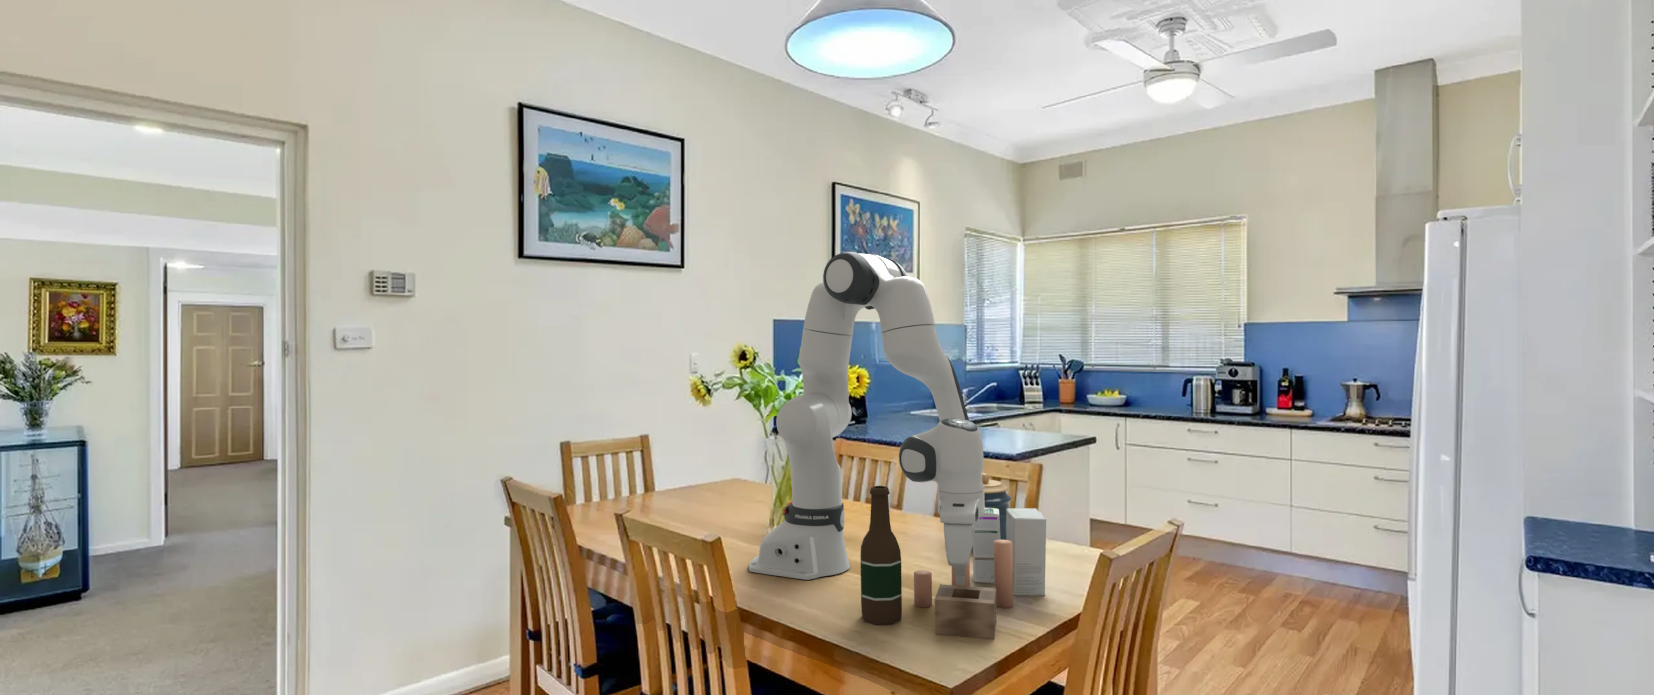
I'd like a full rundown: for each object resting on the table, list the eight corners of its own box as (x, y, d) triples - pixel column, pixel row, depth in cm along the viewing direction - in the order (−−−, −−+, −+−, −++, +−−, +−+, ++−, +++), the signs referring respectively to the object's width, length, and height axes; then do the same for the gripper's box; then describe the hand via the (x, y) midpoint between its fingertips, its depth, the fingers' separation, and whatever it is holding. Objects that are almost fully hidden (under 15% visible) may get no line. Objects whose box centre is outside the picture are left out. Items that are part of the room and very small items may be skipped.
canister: (978, 535, 195) (978, 466, 195) (1022, 545, 186) (1021, 472, 185) (946, 545, 186) (946, 473, 186) (991, 556, 177) (990, 480, 176)
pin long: (994, 607, 144) (993, 543, 143) (995, 601, 147) (994, 539, 147) (1012, 608, 143) (1012, 544, 143) (1013, 602, 146) (1012, 540, 146)
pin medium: (951, 605, 145) (950, 558, 145) (952, 599, 148) (952, 553, 148) (969, 607, 144) (968, 559, 144) (970, 601, 147) (970, 554, 147)
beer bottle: (872, 629, 134) (870, 493, 134) (853, 614, 141) (851, 485, 141) (910, 621, 137) (908, 488, 137) (890, 607, 144) (888, 481, 144)
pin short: (913, 606, 145) (912, 575, 144) (915, 600, 148) (915, 569, 148) (930, 608, 144) (930, 576, 144) (933, 601, 147) (932, 571, 147)
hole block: (935, 633, 131) (934, 599, 131) (940, 617, 139) (940, 584, 139) (994, 639, 129) (993, 603, 129) (996, 621, 136) (996, 588, 136)
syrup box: (1001, 583, 157) (1000, 513, 157) (972, 582, 158) (971, 512, 158) (1001, 575, 163) (1000, 507, 162) (972, 574, 164) (972, 506, 163)
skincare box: (1005, 582, 158) (1004, 507, 157) (1037, 582, 157) (1036, 507, 157) (1014, 596, 149) (1013, 517, 149) (1047, 596, 149) (1047, 517, 149)
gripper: (949, 493, 157) (951, 560, 157) (938, 516, 137) (940, 592, 137) (981, 493, 155) (982, 561, 155) (974, 517, 135) (976, 594, 135)
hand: (962, 576), depth 146 cm, fingers open, 8 cm apart
